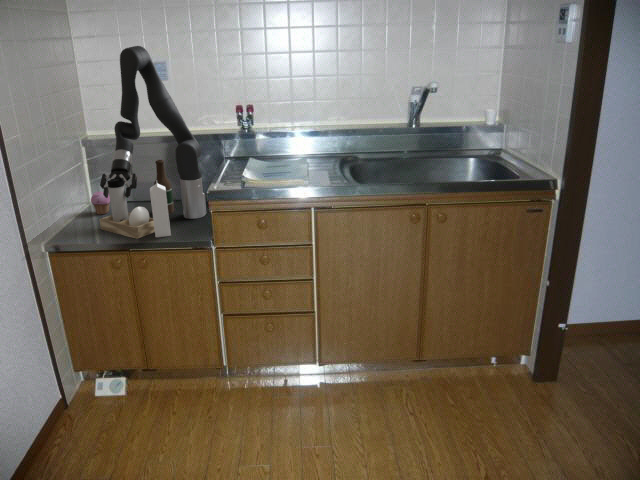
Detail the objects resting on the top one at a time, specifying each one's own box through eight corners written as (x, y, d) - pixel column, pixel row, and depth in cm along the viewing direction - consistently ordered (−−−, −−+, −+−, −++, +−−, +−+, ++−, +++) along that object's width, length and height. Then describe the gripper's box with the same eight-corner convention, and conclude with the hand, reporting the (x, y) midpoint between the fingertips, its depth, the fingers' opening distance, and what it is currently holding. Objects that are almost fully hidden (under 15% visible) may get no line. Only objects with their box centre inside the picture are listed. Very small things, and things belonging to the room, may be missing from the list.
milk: (155, 237, 217) (148, 183, 209) (155, 232, 222) (148, 180, 214) (171, 235, 218) (164, 182, 211) (170, 231, 224) (164, 178, 216)
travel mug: (125, 227, 225) (118, 180, 218) (110, 226, 226) (103, 179, 219) (133, 222, 231) (126, 176, 223) (119, 221, 232) (112, 175, 225)
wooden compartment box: (124, 221, 236) (123, 211, 235) (160, 229, 225) (158, 219, 224) (101, 229, 227) (99, 219, 225) (137, 238, 216) (135, 228, 214)
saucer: (148, 225, 226) (145, 203, 223) (150, 226, 226) (147, 204, 222) (129, 232, 219) (126, 209, 215) (132, 233, 218) (128, 210, 215)
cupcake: (95, 210, 251) (91, 189, 247) (114, 209, 252) (111, 188, 249) (91, 216, 243) (87, 195, 239) (111, 215, 244) (108, 193, 241)
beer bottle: (178, 211, 248) (172, 159, 240) (165, 216, 242) (158, 163, 234) (166, 208, 252) (160, 157, 244) (153, 213, 246) (146, 161, 238)
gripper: (101, 158, 226) (95, 192, 219) (136, 158, 226) (130, 192, 219) (108, 168, 233) (102, 201, 226) (141, 167, 233) (136, 201, 226)
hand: (116, 196), depth 223 cm, fingers open, 8 cm apart
